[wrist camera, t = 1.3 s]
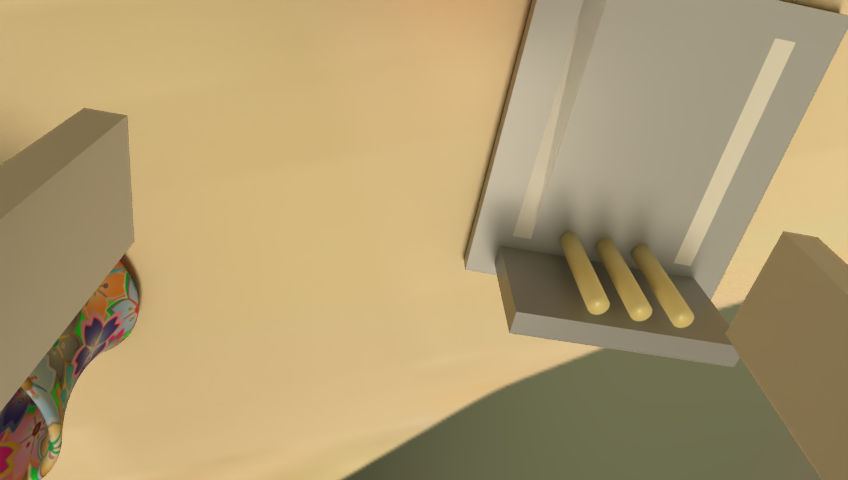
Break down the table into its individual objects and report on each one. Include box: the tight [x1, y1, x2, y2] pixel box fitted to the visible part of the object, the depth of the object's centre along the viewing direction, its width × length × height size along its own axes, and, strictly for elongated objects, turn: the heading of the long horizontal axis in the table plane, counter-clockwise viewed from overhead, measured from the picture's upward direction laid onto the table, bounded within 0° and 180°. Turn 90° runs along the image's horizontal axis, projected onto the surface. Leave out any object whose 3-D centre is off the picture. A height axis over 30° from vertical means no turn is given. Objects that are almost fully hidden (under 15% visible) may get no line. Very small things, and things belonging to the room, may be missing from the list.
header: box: [464, 0, 848, 367], centre depth 28 cm, size 16×14×7 cm
